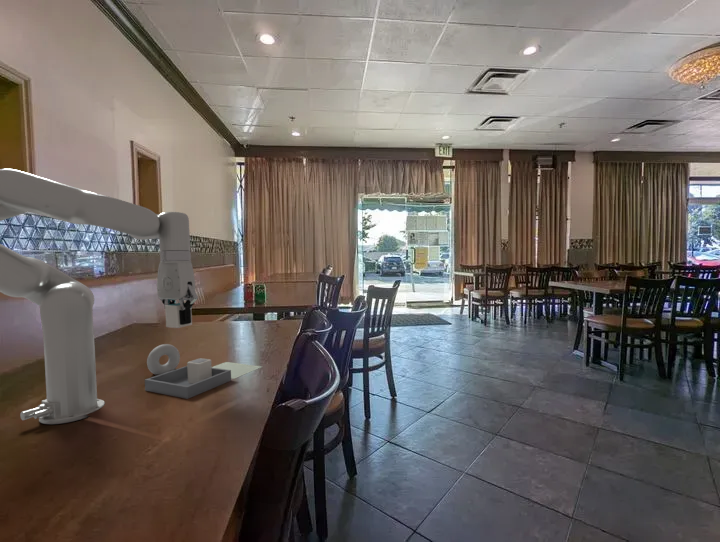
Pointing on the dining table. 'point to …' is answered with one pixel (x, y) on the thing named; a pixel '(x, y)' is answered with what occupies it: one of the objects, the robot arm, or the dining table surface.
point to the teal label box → (174, 316)
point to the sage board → (237, 368)
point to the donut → (155, 356)
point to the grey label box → (199, 370)
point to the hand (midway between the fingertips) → (178, 322)
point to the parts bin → (185, 383)
